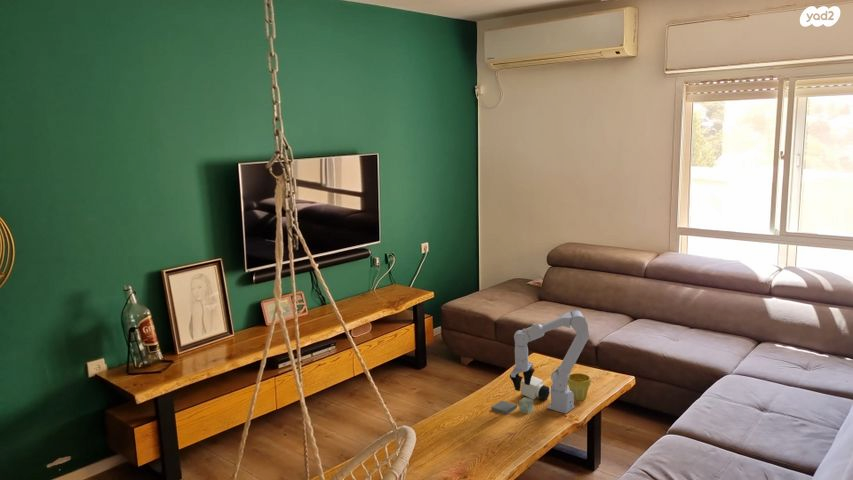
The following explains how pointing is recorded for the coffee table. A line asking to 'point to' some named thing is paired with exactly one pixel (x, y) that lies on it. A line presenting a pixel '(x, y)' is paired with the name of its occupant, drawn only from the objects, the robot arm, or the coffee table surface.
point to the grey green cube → (526, 405)
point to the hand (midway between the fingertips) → (522, 387)
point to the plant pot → (579, 385)
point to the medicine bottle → (535, 389)
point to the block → (504, 407)
